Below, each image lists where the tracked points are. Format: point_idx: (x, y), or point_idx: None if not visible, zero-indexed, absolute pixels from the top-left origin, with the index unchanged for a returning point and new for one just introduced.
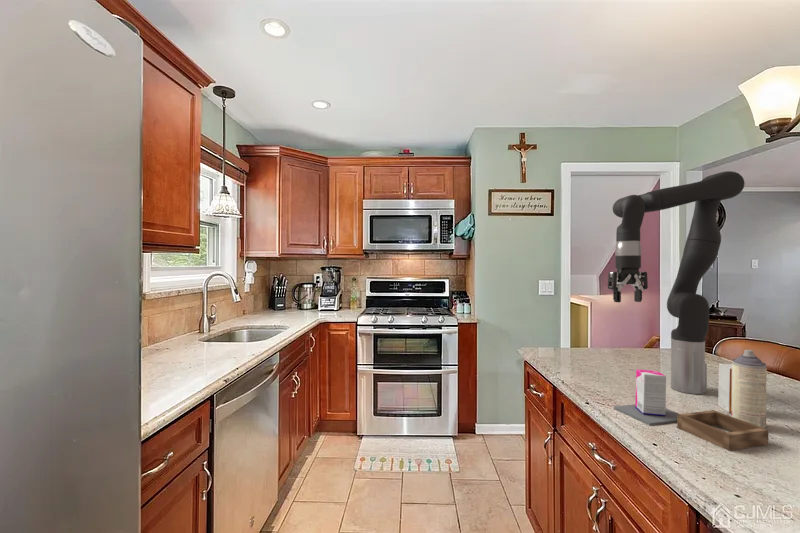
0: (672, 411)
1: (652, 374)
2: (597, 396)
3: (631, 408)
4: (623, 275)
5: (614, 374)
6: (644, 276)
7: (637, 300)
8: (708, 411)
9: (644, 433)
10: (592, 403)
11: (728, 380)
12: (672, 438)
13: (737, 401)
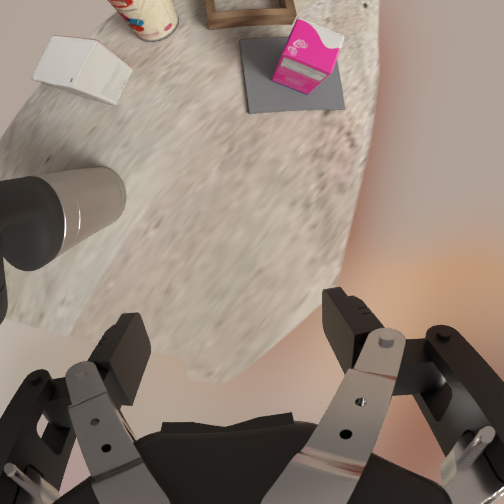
0: (246, 68)
1: (324, 31)
2: (331, 175)
3: (318, 93)
4: (395, 500)
5: (185, 312)
6: (4, 465)
7: (142, 331)
8: (223, 15)
9: (358, 26)
10: (365, 142)
11: (108, 53)
12: (329, 6)
13: (170, 2)
